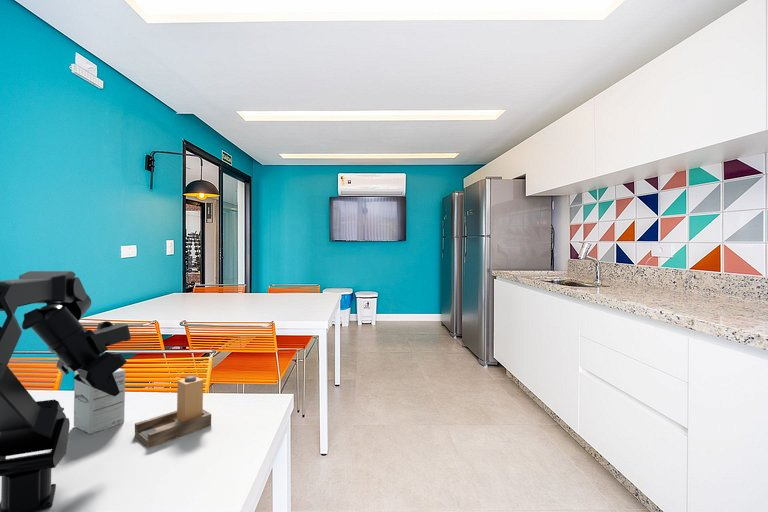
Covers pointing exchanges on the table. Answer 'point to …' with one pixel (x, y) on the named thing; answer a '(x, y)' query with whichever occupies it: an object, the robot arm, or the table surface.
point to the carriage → (189, 398)
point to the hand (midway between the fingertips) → (116, 394)
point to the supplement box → (98, 405)
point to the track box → (168, 428)
